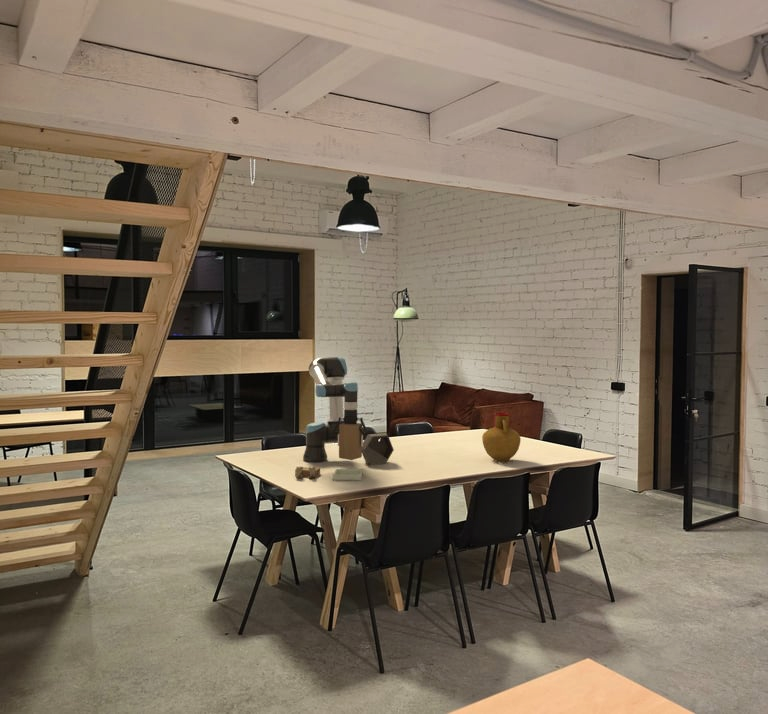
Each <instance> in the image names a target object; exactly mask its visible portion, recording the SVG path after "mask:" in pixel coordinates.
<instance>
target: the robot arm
mask: <svg viewBox="0 0 768 714" xmlns="http://www.w3.org/2000/svg"><path fill="white" fill-rule="evenodd" d="M347 365H348V364H347V363H346V359H345V358H343V357H340V356H339V357H338V356H337V357H335V356H333V357H332V356H330V357H329V356H326V357H322V356H321V357H317V358H315V359H314V360H312V361H311V362H310V364H309V366H308V373H309V375H310V376H311V377H312V379H313V380H314V382H315V396H316V397H317V398H329V400H328V401H329V402H328V403H329V406H328V407H329V419H328V420H327V423H325V422H324V421H316V422H311V423H309V424H307V425H306V428H305V449H304V453H303V455H302V460H303V461H304V462H309V463H318V462H319V463H321V462H326V461H328V454H327V451H326V448H325V447H326V445H325V444H326V443H327V444H329V443H332V444H333V443H337V446H338V447H339V425H340V424H342V423H344V424H357V423H358V421H359V423H361V424H362V429H361V428H360V427H359V430H360V432H361V433H362V438H361V446H363V442H364V440H365V439H366V435H368V434H369V431H368V428H367V427H366V425H365V422H364V418H363V417H358V392H359V391H358V390H359V386H358V382H356V381H346V382H345V383H343V380H344V379H345V376H347V375H348V366H347Z"/></svg>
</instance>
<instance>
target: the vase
mask: <svg viewBox="0 0 768 714" xmlns="http://www.w3.org/2000/svg"><path fill="white" fill-rule="evenodd" d="M509 416H510V413H508V412H494V427H490V428H489V429H488V430H486V431H485V432H483V434H482V440H481V441H482V445H483V448H484V450H485V452H486V454H487V455H488V456H489V457H490V458H491V459H492V460H493V461H495V462H498V463H499V462H500V463H506V462H509V460H510V459H512V458H514V456H515V455H516V454H517V453H518V451H519V448H520V445H521V435H520V434H519V433H518V432H517V431H516V430H515V429H512V428H511V427H509V422H510V421H509V418H510V417H509Z"/></svg>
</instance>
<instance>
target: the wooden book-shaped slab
mask: <svg viewBox="0 0 768 714" xmlns="http://www.w3.org/2000/svg"><path fill="white" fill-rule="evenodd" d="M302 467H303V478H305V477H306V478H309V467H310V466H309V467H307V466H302ZM294 471H295V472H294V476H295V477H296V469H295V470H294ZM320 475H321V468H320V467H316V473H315V478H317V477H319V476H320Z"/></svg>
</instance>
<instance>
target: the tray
mask: <svg viewBox="0 0 768 714" xmlns="http://www.w3.org/2000/svg"><path fill="white" fill-rule="evenodd" d="M363 471H364V469H351V468H349V469H347V468H346V469H340V468H339V469H337V468H335V470H334V472H333V474H332V481H334V480H351V481H350V482H361V481H362V479H361V478H363V476H364V472H363Z"/></svg>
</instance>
